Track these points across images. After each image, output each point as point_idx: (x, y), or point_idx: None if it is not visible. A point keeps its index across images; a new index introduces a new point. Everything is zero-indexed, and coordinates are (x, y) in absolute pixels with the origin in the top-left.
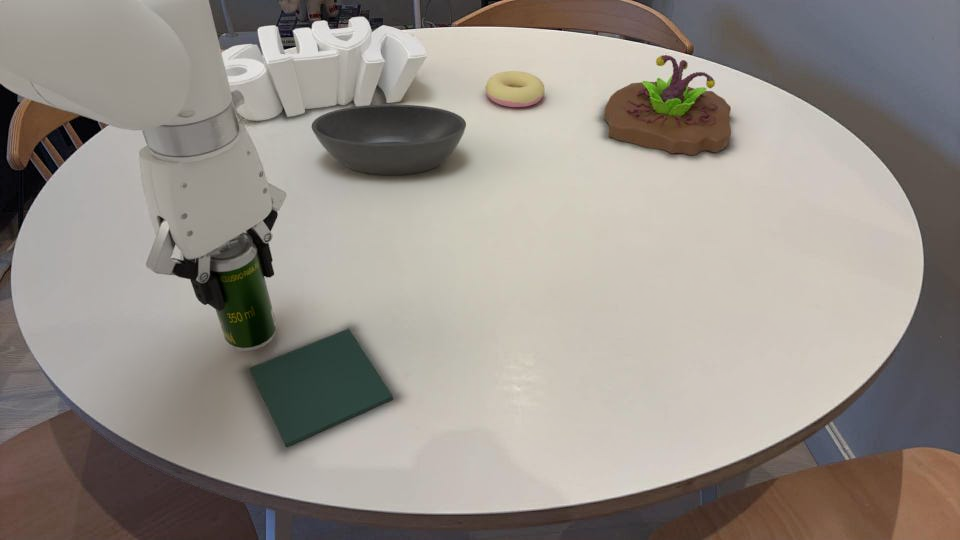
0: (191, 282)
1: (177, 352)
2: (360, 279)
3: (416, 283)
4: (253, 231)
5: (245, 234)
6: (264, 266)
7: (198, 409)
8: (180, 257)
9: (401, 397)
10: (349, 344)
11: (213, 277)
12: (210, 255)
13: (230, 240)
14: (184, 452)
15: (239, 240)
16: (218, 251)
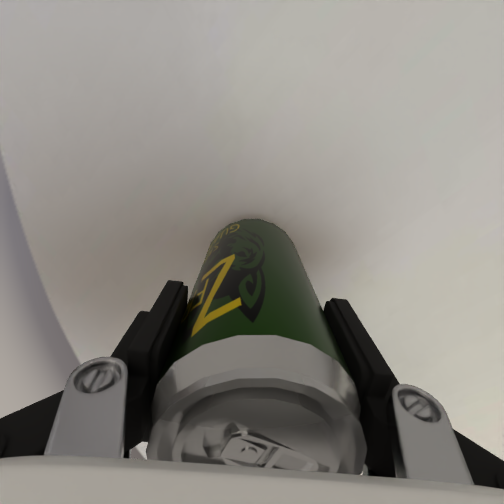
0: (115, 349)
1: (167, 149)
2: (448, 296)
3: (461, 364)
4: (392, 455)
5: (353, 470)
6: None
7: (115, 268)
8: (54, 423)
9: None
10: None
11: (147, 434)
12: (175, 455)
13: (296, 447)
14: (62, 301)
15: (312, 469)
16: (222, 440)
